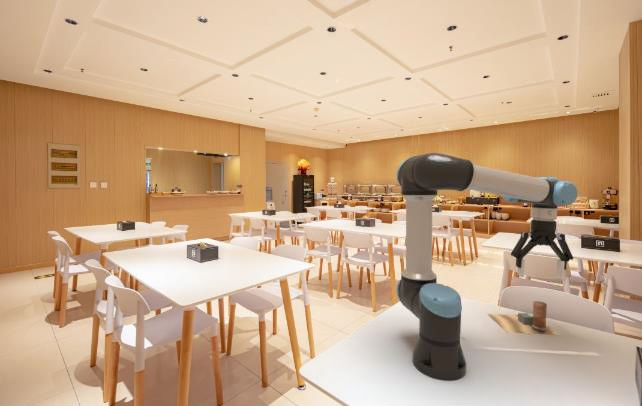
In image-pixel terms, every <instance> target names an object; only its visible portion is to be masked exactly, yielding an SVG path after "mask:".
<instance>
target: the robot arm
mask: <svg viewBox="0 0 642 406" xmlns="http://www.w3.org/2000/svg"><path fill="white" fill-rule="evenodd" d="M396 180H397V183H398V185H399V186H400V187H401V197H402V198H403V199H404V200H405V269H404V270H403V271H401V278H400V279H399V280H398V282H397V285H396V296H397V299H398V300H399V302H400V303H401V304H402V306H403V307H405V309H407V310H409V312H411V313H412V314H413V315H414V316H415V317H416V318H417V319H418V320H419V321H418V322H419V326H418V329H419V331H418V332H419V333H418V339H417V341H416V344H415V346H414V348H413V352H412V363H413V365H414V367H415V368H416V369H417V370H418V371H419V372H421V373H422V374H425V375H426V376H428V377H431V378H434V379H438V380H444V381H454V380H459V379H461V378H463V377H464V376H465V375H466V371H467V362H466V358H465V355H464V352H463V349H462V346H461V331H462V330H461V329H462V328H461V327H462V325H461V323H462V311H463V310H462V309H463V307H462V306H463V305H462V298H461V295H460V294H459V292H458V291H457V290H455V289H454V288H452V287H450V285H444V284H441V283H437V281H438V280H437V274H436V273H435V272H434V271H433V201H434V200H435V198H437V196H438V191H456V192H457V191H458V192H464V191H466V190H468V191H469V190H470V191H474V192H479V193H485V194H491V195H494V196H495V195H496V196H501V198H502V199H503V200H504V201H505V202H506V203H511V204H528V205H529V204H530V205H531V220H530V232H526V231H522V232H521V233H520V238H519V239H518V241H517V242H516V244H515V246H514V248H513V249H512V250H511V253H510V256H511V257H514V258H515V267H516V268H517V276H518V277H521V278H524V275H525V260H526V259H523V258H525V256H527V254H529V253H530V252H531V251H532V249H534V248H535V247H536V246H547V247H550V249H552V251H553V252H554V254H555V255H556V256H557V257H558V259H557V260H556V261H557V262H556V275H555V277H556V278H557V279H560V280H565V279H564V277H565V275H564V274H565V270H567V267H568V266H567V264H568V263H569V262H570V260H572V261H573V259H574V256H573V254H572V251H571V250H570V247H569V245H568V243H567V240H566V234H565V233H560V232H558V233H556V231H557V221H556V220H557V219H558V207H561V206H563V207H567V206H570V205H572V204H574V203H575V202H576V201H577V198H578V194H579V191H578V187H577V186H576V184H574V183H573V182H571V181H564V180H559V179H558V177H553V176H551V177H550V176H549V177H548V176H547V177H546V176H541V177H540V176H538V177H534V176H531V175H525V174H522V173H521V174H520V173H516V172H513V171H512V172H511V171H505V170H501V169H497V168H496V169H495V168H491V167H486V166H483V165H477V164H474V162H473V161H472V160H470V159H465V158H461V157H457V156H453V155H448V154H445V153H440V152H428V153H425V154H419V155H418V154H417V155H413V156H410V157H409V158H405V159H404V160H403V161H402V162H401V163H400V164H399V166H398V168H397V170H396ZM528 239H530V240H529V241H528ZM555 239H556V240H557V242H555ZM527 241H528V242H527ZM526 243H527V244H526ZM557 243H558V244H559V246H558V244H557ZM560 248H561V249H560Z"/></svg>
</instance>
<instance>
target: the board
mask: <svg viewBox="0 0 642 406" xmlns="http://www.w3.org/2000/svg"><path fill="white" fill-rule="evenodd" d="M487 315H488V316H489V318H491V319H492V320H493V321H494V322H495V323H496V324H497V325H498V326H499V327H500V328H501V329H503V330H504V331H505V332H506V333H510V334H511V333H514V334H528V335H529V334H532V335H533V334H534V335H552V336H553V335H555V336H557V335H558V336H560V334H559V333H558V332H557V331H555V330H554V329H552V328H550V326H548V325H547V324H546V331H545V332H538V331H535V330H533V329H532V325H523V324H522V323H521V322H520V321H518V314H496V313H495V314H493V313H487Z"/></svg>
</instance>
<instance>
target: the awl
mask: <svg viewBox="0 0 642 406" xmlns="http://www.w3.org/2000/svg"><path fill="white" fill-rule="evenodd" d="M532 302H533V303H532V305H533V306H532V313H533V323H532V329H533V330H535V331H538V332H545V331H546V325H547V308H548V307H547V306H548V305H547V303H546V302H543V301H538V300H534V301H532Z"/></svg>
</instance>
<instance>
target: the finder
mask: <svg viewBox="0 0 642 406" xmlns="http://www.w3.org/2000/svg"><path fill="white" fill-rule="evenodd" d="M517 315H518V321H520V322H521V323H522V324H523V325H532V323H533V312H532V313H529V312H527V313H526V312H525V313H524V312H518V313H517Z"/></svg>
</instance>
